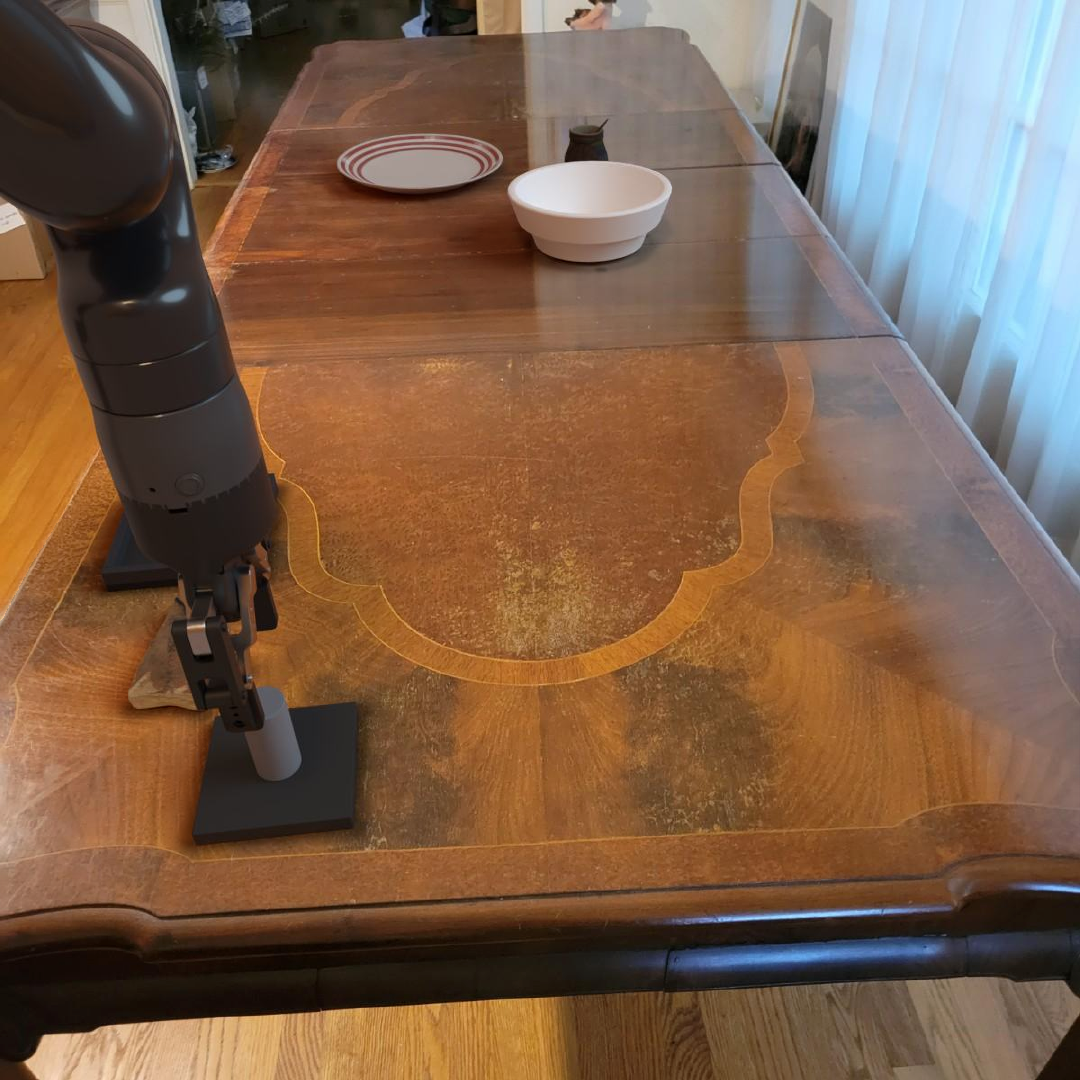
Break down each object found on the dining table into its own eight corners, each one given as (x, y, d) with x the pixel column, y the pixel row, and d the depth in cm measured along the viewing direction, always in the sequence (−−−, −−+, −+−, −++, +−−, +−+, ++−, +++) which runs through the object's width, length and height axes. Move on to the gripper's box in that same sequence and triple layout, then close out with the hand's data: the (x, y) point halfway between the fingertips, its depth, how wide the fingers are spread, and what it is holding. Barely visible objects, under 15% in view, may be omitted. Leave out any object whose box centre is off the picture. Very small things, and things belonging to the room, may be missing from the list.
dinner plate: (527, 159, 170) (527, 139, 168) (461, 213, 151) (460, 191, 149) (388, 145, 179) (386, 126, 177) (308, 195, 159) (304, 174, 157)
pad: (196, 846, 63) (166, 774, 58) (218, 726, 70) (193, 655, 66) (353, 828, 63) (336, 756, 59) (358, 712, 71) (343, 640, 67)
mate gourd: (573, 170, 165) (572, 107, 159) (615, 175, 163) (617, 111, 156) (557, 184, 160) (556, 120, 154) (601, 189, 157) (602, 123, 151)
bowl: (696, 262, 133) (701, 200, 128) (540, 289, 128) (538, 226, 123) (630, 208, 150) (632, 152, 145) (490, 230, 145) (486, 172, 139)
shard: (180, 610, 80) (175, 593, 79) (271, 612, 80) (267, 596, 79) (127, 709, 72) (120, 692, 71) (228, 713, 71) (223, 696, 70)
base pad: (107, 591, 82) (100, 573, 81) (139, 501, 93) (133, 484, 91) (263, 577, 83) (259, 559, 82) (278, 489, 94) (274, 472, 92)
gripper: (141, 395, 56) (210, 605, 66) (77, 549, 45) (173, 774, 55) (273, 383, 57) (322, 593, 67) (243, 533, 45) (307, 758, 56)
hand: (255, 675), depth 61 cm, fingers open, 8 cm apart
